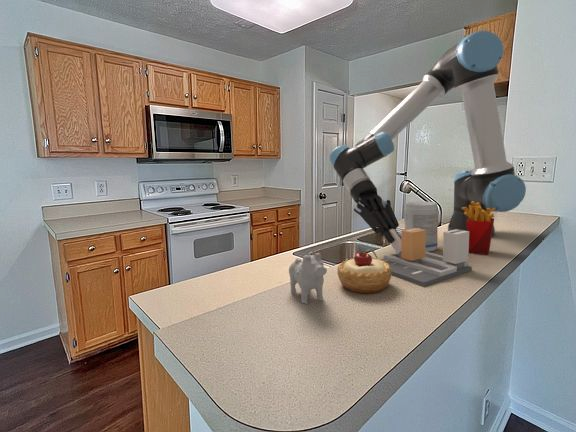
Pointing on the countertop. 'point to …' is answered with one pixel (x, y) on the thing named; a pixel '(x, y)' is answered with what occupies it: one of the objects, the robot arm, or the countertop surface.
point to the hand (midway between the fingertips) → (402, 251)
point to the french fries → (479, 228)
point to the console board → (434, 261)
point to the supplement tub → (423, 221)
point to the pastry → (364, 273)
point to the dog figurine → (308, 275)
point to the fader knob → (413, 244)
